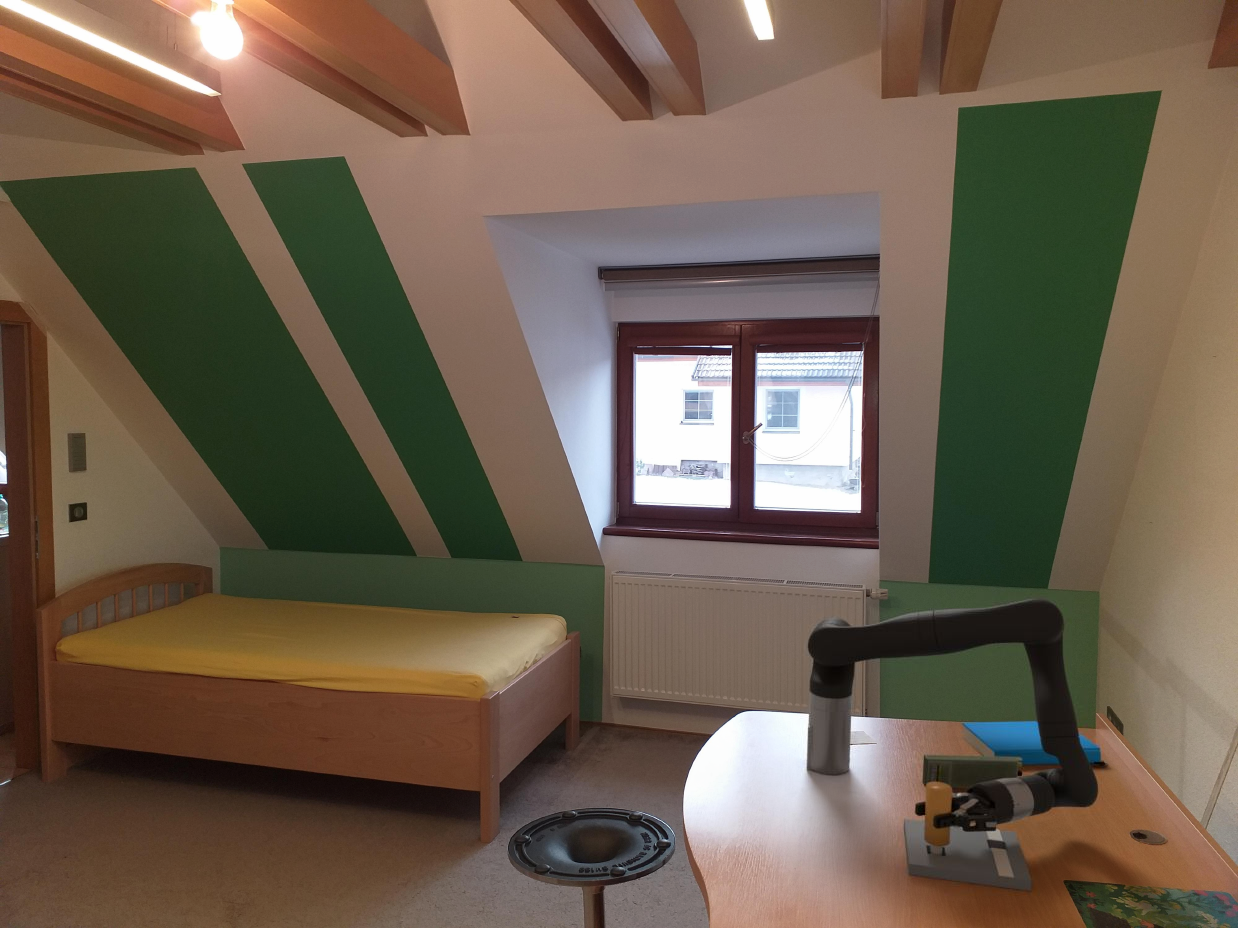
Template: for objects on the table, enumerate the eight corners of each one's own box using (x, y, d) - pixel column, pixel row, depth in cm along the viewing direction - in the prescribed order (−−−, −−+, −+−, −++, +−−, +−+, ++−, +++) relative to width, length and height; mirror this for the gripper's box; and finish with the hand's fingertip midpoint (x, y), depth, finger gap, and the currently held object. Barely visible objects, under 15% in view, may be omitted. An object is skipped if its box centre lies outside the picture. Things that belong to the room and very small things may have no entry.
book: (961, 722, 225) (1060, 718, 227) (960, 739, 226) (1059, 735, 228) (995, 751, 208) (1102, 746, 210) (995, 769, 209) (1101, 765, 211)
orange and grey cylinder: (923, 865, 167) (927, 790, 165) (922, 853, 171) (925, 780, 169) (949, 868, 166) (953, 793, 164) (947, 856, 170) (950, 783, 168)
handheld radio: (921, 781, 201) (1038, 784, 200) (925, 789, 198) (1045, 792, 197) (922, 752, 200) (1041, 755, 199) (927, 759, 197) (1047, 762, 196)
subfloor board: (908, 874, 164) (909, 862, 164) (903, 828, 180) (904, 817, 180) (1030, 890, 159) (1031, 878, 159) (1014, 841, 175) (1015, 831, 175)
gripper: (974, 765, 179) (900, 779, 173) (1031, 798, 165) (953, 813, 159) (972, 803, 179) (899, 817, 173) (1029, 838, 166) (951, 855, 160)
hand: (925, 815), depth 166 cm, fingers closed on orange and grey cylinder, 4 cm apart
